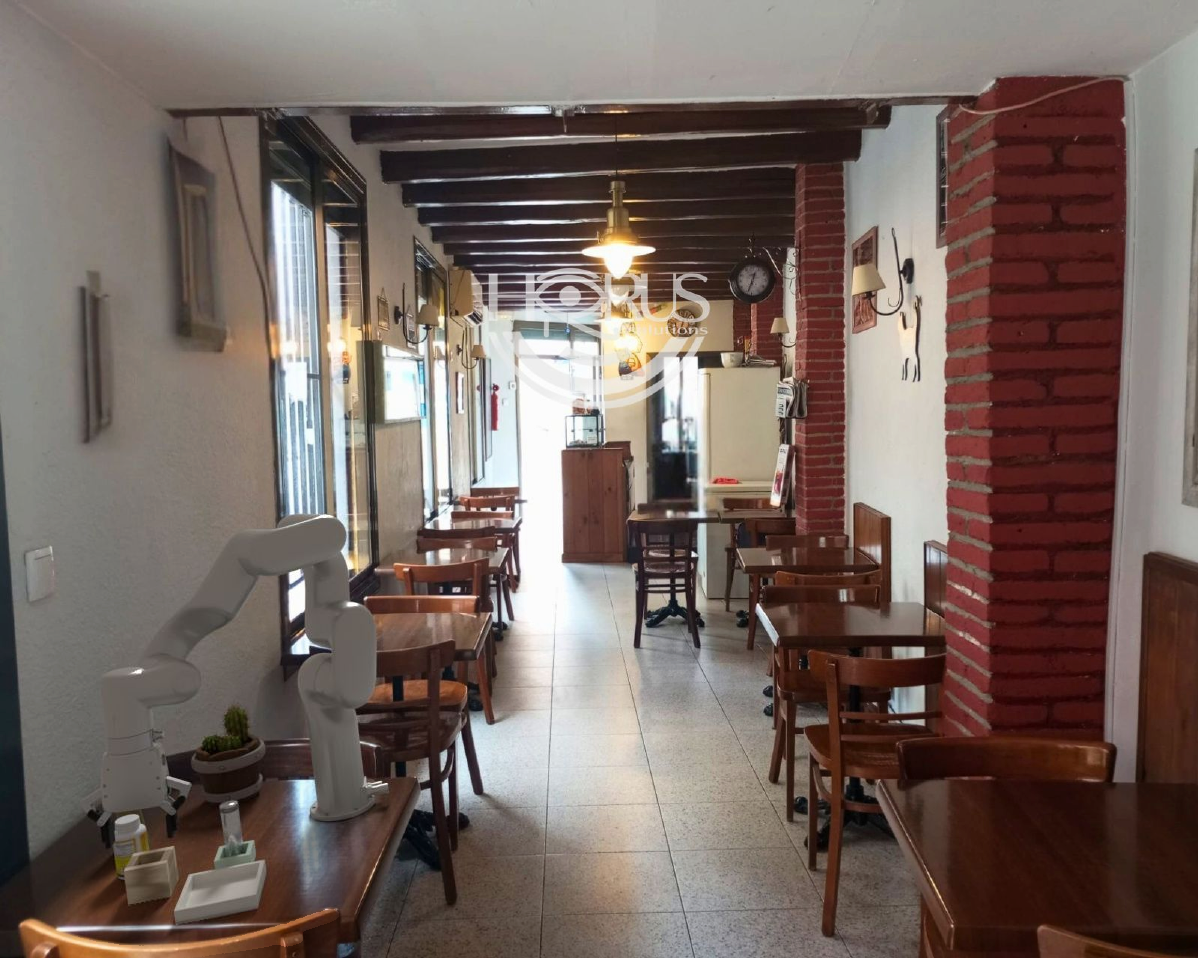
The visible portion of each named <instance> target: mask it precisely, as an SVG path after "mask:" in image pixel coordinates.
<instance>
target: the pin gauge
mask: <svg viewBox="0 0 1198 958" xmlns="http://www.w3.org/2000/svg"><path fill="white" fill-rule="evenodd" d="M239 807H240V806H239V804H238V802H237V801H235V800H232V801H227V802H224V803H222V804H221V805H220V806H219V807H218V808H219V813H220V818H221V827H222V834H223V841H224V846H225V850H226V857H231V856H236V855H241V854H244V847H243V842H244V841H243V834H242V832H243V831H242V825H241V819H240V818H241V817H240V810H239V809H240V808H239Z"/></svg>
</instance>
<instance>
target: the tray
mask: <svg viewBox="0 0 1198 958" xmlns="http://www.w3.org/2000/svg"><path fill="white" fill-rule="evenodd" d="M266 876H267V866H266V860H265V859H261V860H254V862H250V863H245V864H240V865H235V866H230V867H225V868H220V869H215V868H214V869H210V870H205V871H200V872H196V873H190V874H188V876H187V879H186V881H185V883H184V886H183V888H182V891H181V894H180V895H179V899H178V900H177V902H176V905H175V908H174V911H173V913H174V914H173V915H174V921H175V925H176V924H182V923H185V922H188V921H196V922H201V921H205V920H204V919H206V920H209V919H210V920H211V919H215V918H219V917H225V916H228V915H234V914H238V913H243V912H248V911H254V910H258V909H259V906H260V901H261V897H262V894H263V893H262V892H263V889H264V885H265V881H266ZM200 920H201V921H200ZM182 925H183V924H182Z"/></svg>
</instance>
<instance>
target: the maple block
mask: <svg viewBox="0 0 1198 958" xmlns="http://www.w3.org/2000/svg"><path fill="white" fill-rule="evenodd" d="M177 862H178V861H177V857H176V849H175V845H172V846H166V847H162V848H161V847H160V848H155V849H152V850H151V849H149V851H144V852H139V853H134V854H133V855H132V857H131V859H130V861H129V863H128V864H127V866H126V868H125V870H124V878H125V880H124V884H125V892H126V896H127V898H126V899H127V904H128V905H127V906H130V905H129V904H132V903H133V904H134V903H139V904H142V903H141V902H144V901H149V902H151V901H150V900H154V901H158V900H157V899H159V900H163V898H164V899H168V898H172V895H173V893H174V891H175V888H176V886H177V884H178V881H179V877H180V876H179V872H178V865H177V864H178V863H177ZM144 903H145V902H144ZM134 905H135V904H134Z"/></svg>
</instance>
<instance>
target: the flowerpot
mask: <svg viewBox="0 0 1198 958" xmlns="http://www.w3.org/2000/svg"><path fill="white" fill-rule="evenodd" d="M224 711H225V712H226V713H225V714H221V715H220V717H221V718H220V719H222V721H221V725H220V726H222V727H221V728H223V730H225V731H224V732H223V733H222V734H223V735H222V734H220V735H217V733H218V732H216V733H215V734H206V736H207V737H206V736H205V735H203V737H204V738H203V739H201V740H202V743H201V744H202V745H200V746H198V747H197V748H196V750H195V753H194V754H193V755H192V757H191V760H190V764H191V768H192V770H193V771H195V772H197V773H198V776H199V778H200V782H201V784H202V786H203V788H202V790H201V791H202V796H203V799H205V801H207V802H209V804H210V805H211V806H213V805H215V806H214V807H218V806H219V807H220V805H221V804H222V803H224V802H227V801H232V800H235V801H237V802H238V803H239V804H241V803H242V802H246V800H247V801H249V800H251V799H252V797H253V798H255V797H256V796H257V795H258V794H259V792H260V789H261V788H262V784H263V775H262V774H261V767H262V758H263V757H264V756H265V754H266V745H265V742H264V740H261V739H260V737H259V736H256V735H254V734H252V733H251V732H250V728H251V725H250V724H249V722H250V720H251V717H250V712H249V711H248V710H247V709H246V708H245V707H243V708H242V706H241V705H239V702H236V704H235V699H233V704H231V705H230V707H229V708H228V709H225V710H224ZM222 724H223V725H222ZM257 793H258V794H257ZM254 796H255V797H254ZM248 799H249V800H248Z"/></svg>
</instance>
